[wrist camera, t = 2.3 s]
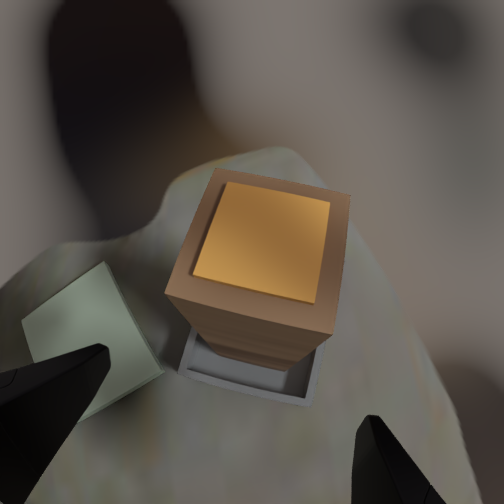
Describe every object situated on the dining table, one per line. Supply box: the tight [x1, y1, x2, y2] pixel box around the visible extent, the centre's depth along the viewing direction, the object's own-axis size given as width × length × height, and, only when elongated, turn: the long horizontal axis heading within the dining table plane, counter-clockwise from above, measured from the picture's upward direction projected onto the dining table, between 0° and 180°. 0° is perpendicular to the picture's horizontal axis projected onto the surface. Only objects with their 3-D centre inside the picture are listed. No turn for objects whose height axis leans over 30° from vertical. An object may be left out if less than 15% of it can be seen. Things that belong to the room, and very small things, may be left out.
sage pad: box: [21, 261, 165, 423], centre depth 19 cm, size 10×10×1 cm
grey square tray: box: [177, 327, 326, 407], centre depth 20 cm, size 9×9×2 cm
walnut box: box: [164, 168, 350, 372], centre depth 14 cm, size 4×4×13 cm
